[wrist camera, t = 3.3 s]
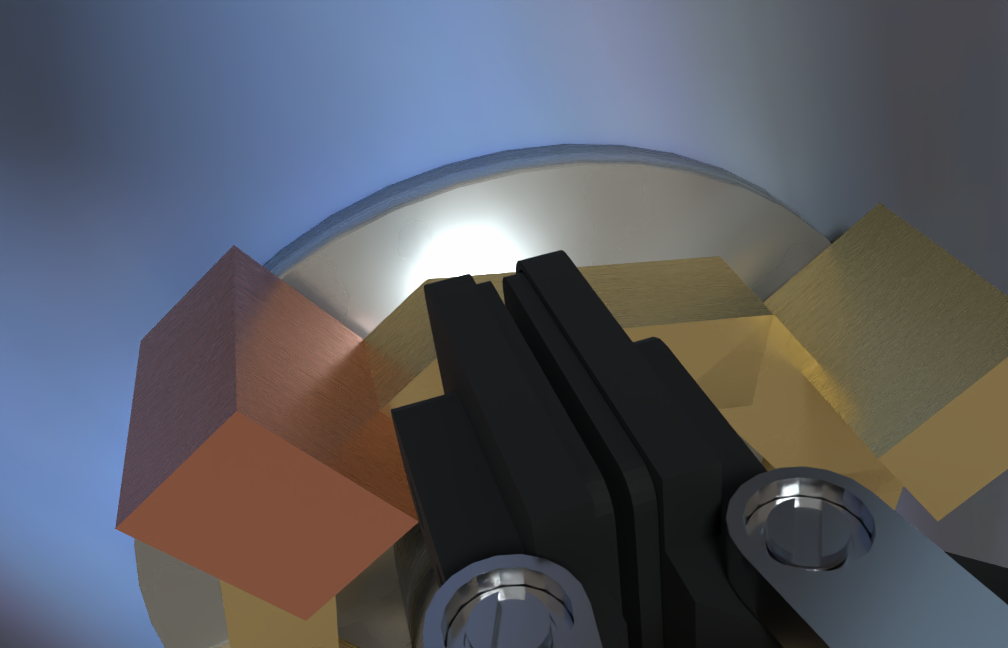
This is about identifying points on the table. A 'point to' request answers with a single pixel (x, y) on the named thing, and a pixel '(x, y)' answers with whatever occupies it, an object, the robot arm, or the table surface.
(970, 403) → the locking ring
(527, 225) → the flange
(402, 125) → the table surface
